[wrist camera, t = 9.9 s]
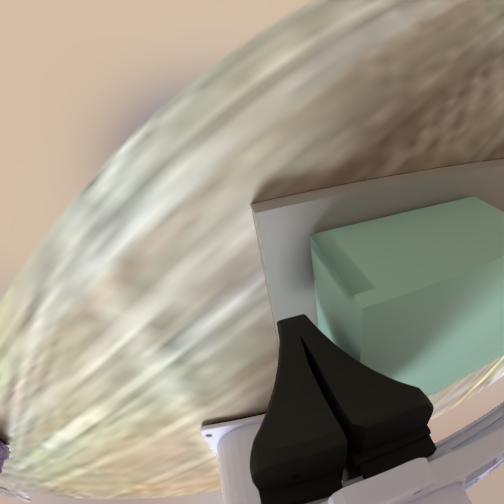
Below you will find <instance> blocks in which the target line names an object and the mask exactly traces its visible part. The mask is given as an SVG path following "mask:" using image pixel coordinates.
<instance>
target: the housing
mask: <svg viewBox="0 0 504 504" xmlns="http://www.w3.org/2000/svg"><path fill="white" fill-rule="evenodd" d="M309 237H310V246H311V255H312V264H313V274H314V284H315V295H316V306H317V318H318V329H319V330H320V331H321V332H322V333H323V334H324V335H325V336H327V337H328V338H329V339H330V340H331V341H332V342H333V343H334V344H336V345H337V346H338V347H339V348H341V349H342V350H343V351H344V352H346V353H347V354H349V355H350V356H351V357H353V358H354V359H356V360H357V361H359V362H360V363H362V364H364V365H365V366H367V367H369V368H371V369H372V370H374V371H377V372H379V373H381V374H383V375H385V376H387V377H389V378H391V379H394V380H396V381H399V382H402V383H405V384H408V385H412V386H415V387H418V388H420V389H421V390H422V391H423V393H424V394H425V395H426V396H429V395H431V394H433V393H435V392H437V391H439V390H441V389H443V388H445V387H447V386H449V385H451V384H453V383H455V382H456V381H458V380H460V379H462V378H464V377H466V376H467V375H469V374H471V373H473V372H475V371H476V370H478V369H480V368H481V367H483V366H485V365H486V364H488V363H490V362H491V361H493V360H495V359H496V358H498V357H499V356H501V355H503V354H504V212H502V211H501V210H499V209H497V208H495V207H493V206H492V205H490V204H488V203H486V202H484V201H482V200H480V199H478V198H477V197H475V196H473V197H468V198H464V199H460V200H455V201H451V202H447V203H442V204H438V205H434V206H430V207H425V208H421V209H417V210H412V211H408V212H404V213H399V214H395V215H391V216H387V217H382V218H378V219H374V220H370V221H365V222H361V223H357V224H352V225H348V226H344V227H340V228H335V229H331V230H327V231H323V232H318V233H314V234H310V235H309Z"/></svg>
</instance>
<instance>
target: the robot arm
mask: <svg viewBox="0 0 504 504" xmlns="http://www.w3.org/2000/svg"><path fill="white" fill-rule="evenodd" d="M277 328H278V333H279V360H278V368H277V375H276V380H275V385H274V389H273V393H272V396H271V400H270V403H269V406H268V409H267V411H266V414H262V415H258V416H253V417H249V418H244V419H239V420H234V421H229V422H223V423H218V424H212V425H206V426H202V427H201V428H200V433H201V434H202V436H203V438H204V439H205V441H206V442H207V443H208V445H209V446H210V448H211V449H212V451H213V452H214V454H215V455H216V457H217V458H218V466H219V475H220V483H221V491H222V498H223V504H471V501H470V500H469V498H468V496H467V494H466V492H465V490H466V489H468V488H469V487H471V486H472V485H474V484H475V483H477V482H478V481H479V480H481V479H482V478H484V477H485V476H487V475H488V474H489V473H491V472H492V471H493V470H495V469H496V468H497V467H498V466H500V465H501V464H502V463H504V402H502V403H501V404H500V405H498V406H497V407H495V408H494V409H492V410H491V411H489V412H488V413H486V414H485V415H483V416H482V417H480V418H479V419H477V420H475V421H474V422H472V423H471V424H469V425H467V426H466V427H464V428H462V429H461V430H459V431H457V432H455V433H454V434H452V435H450V436H448V437H446V438H444V439H443V440H441V441H439V442H437V443H435V444H434V443H433V441H432V439H431V437H430V435H429V434H430V433H431V432H430V429H429V428H428V426H427V424H428V422H429V419H430V417H431V415H432V412H433V405H432V403H431V402H430V400H429V399H428V397H427V396H426V395H425V394H424V393H423V391H422V390H421V389H420V388H418V387H415V386H412V385H408V384H405V383H402V382H399V381H396V380H394V379H391V378H389V377H387V376H385V375H383V374H381V373H379V372H377V371H374V370H372V369H371V368H369V367H367V366H365V365H364V364H362V363H360V362H359V361H357V360H356V359H354V358H353V357H351V356H350V355H349V354H347V353H346V352H344V351H343V350H342V349H341V348H339V347H338V346H337V345H336V344H334V343H333V342H332V341H331V340H330V339H329V338H328V337H327V336H325V335H324V334H323V333H322V332H321V331H320V330H319V329H318V328H317V327H316V326H315V325H314V324H313V323H312V321H311V320H310V319H309V318H308V317H307V316H306V315H305V314H301V315H298V316H294V317H290V318H286V319H283V320H279V321H278V322H277ZM342 481H343V482H342Z"/></svg>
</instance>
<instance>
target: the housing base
mask: <svg viewBox="0 0 504 504" xmlns="http://www.w3.org/2000/svg"><path fill="white" fill-rule="evenodd" d="M473 196H475V197H477V198H478V199H480V200H482V201H484V202H486V203H488V204H490V205H492V206H493V207H495V208H497V209H499V210H501V211H502V212H504V159H498V160H490V161H483V162H475V163H468V164H461V165H455V166H448V167H441V168H435V169H429V170H423V171H416V172H410V173H405V174H399V175H393V176H387V177H382V178H376V179H371V180H365V181H360V182H355V183H349V184H344V185H339V186H334V187H329V188H324V189H319V190H314V191H309V192H304V193H300V194H295V195H290V196H286V197H281V198H276V199H272V200H267V201H263V202H258V203H254V204H251V209H252V214H253V219H254V224H255V229H256V234H257V239H258V244H259V249H260V254H261V259H262V264H263V269H264V274H265V279H266V284H267V289H268V294H269V299H270V304H271V310H272V315H273V320H274V325H275V330H276V335H277V340H278V346H279V333H278V328H277V322H278V321H279V320H283V319H286V318H290V317H294V316H298V315H301V314H305V315H306V316H307V317H308V318H309V319H310V320H311V321H312V323H313V324H314V325H315V326H316V327H317V328H318V318H317V306H316V295H315V284H314V274H313V264H312V255H311V246H310V237H309V235H310V234H314V233H318V232H323V231H327V230H331V229H335V228H340V227H344V226H348V225H352V224H357V223H361V222H365V221H370V220H374V219H378V218H382V217H387V216H391V215H395V214H399V213H404V212H408V211H412V210H417V209H421V208H425V207H430V206H434V205H438V204H442V203H447V202H451V201H455V200H460V199H464V198H468V197H473Z"/></svg>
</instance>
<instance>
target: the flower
mask: <svg viewBox="0 0 504 504" xmlns="http://www.w3.org/2000/svg"><path fill="white" fill-rule="evenodd" d="M10 453H11V452H10V451H9V448H8V447H7V446H6V445H5V444H4V443H3V442H2V441H1V440H0V474H1V472H2V469H1V468H2V466H3V463H4V462H3V461H4V460H6V459H9V454H10Z"/></svg>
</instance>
